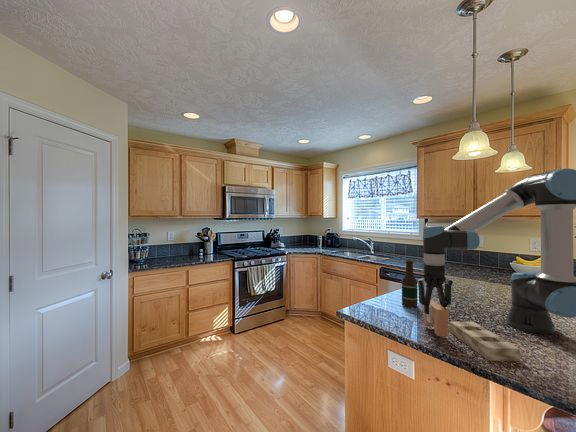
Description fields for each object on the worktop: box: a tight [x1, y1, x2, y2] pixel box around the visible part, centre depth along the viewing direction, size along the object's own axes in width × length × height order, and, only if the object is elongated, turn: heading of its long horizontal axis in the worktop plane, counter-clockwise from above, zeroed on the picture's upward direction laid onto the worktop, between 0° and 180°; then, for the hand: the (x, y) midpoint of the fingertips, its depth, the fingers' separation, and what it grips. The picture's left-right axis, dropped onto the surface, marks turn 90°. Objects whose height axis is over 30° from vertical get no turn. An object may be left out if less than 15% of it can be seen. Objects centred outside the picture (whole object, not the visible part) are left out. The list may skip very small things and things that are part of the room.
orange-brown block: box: [422, 299, 450, 337], centre depth 105 cm, size 12×4×10 cm, turn 178°
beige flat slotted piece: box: [448, 321, 521, 362], centre depth 95 cm, size 10×22×4 cm, turn 178°
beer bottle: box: [401, 259, 419, 309], centre depth 138 cm, size 8×8×24 cm
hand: (435, 321), depth 105 cm, fingers closed on orange-brown block, 4 cm apart
